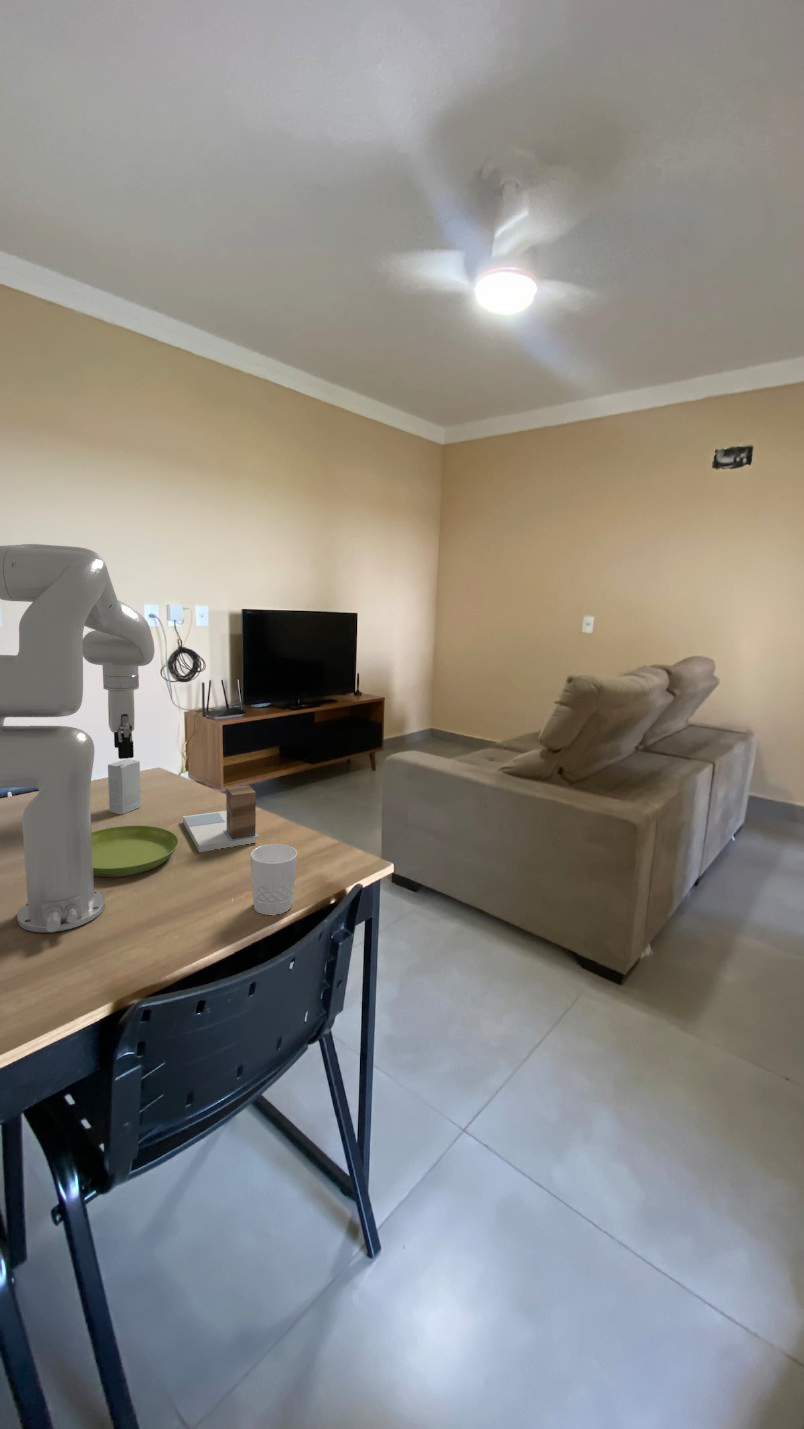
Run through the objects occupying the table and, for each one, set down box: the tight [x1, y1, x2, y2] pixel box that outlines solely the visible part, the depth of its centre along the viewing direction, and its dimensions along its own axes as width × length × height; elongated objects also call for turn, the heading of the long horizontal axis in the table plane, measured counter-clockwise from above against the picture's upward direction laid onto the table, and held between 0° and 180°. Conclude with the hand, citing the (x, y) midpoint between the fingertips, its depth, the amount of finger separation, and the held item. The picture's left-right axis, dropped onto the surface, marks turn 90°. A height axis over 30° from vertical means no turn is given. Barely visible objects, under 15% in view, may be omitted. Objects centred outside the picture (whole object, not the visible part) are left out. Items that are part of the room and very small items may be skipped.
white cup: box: [250, 843, 298, 916], centre depth 103 cm, size 8×8×10 cm
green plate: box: [91, 825, 180, 878], centre depth 118 cm, size 21×21×3 cm
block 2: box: [226, 810, 257, 839], centre depth 130 cm, size 5×5×5 cm
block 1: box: [225, 784, 257, 817], centre depth 129 cm, size 5×5×5 cm
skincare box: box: [107, 758, 142, 815], centre depth 143 cm, size 6×4×12 cm
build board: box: [182, 810, 261, 853], centre depth 134 cm, size 18×13×2 cm
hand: (123, 752), depth 141 cm, fingers open, 9 cm apart
